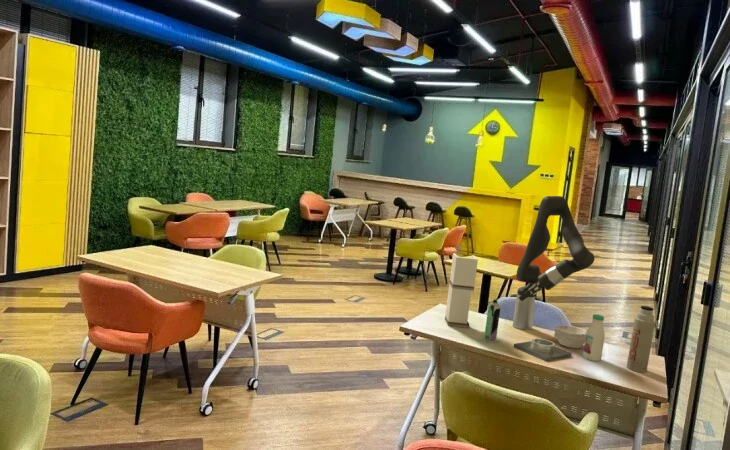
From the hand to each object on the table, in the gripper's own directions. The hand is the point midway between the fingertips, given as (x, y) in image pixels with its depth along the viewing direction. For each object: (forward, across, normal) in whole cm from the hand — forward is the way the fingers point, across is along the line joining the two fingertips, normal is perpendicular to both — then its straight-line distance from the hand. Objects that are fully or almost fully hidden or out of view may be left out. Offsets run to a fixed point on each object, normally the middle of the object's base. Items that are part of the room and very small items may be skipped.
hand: (521, 297), depth 251 cm
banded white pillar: (+40, -16, -7) cm, 43 cm away
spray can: (+25, 0, +8) cm, 26 cm away
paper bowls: (+1, -24, +32) cm, 40 cm away
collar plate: (+8, -3, +25) cm, 26 cm away
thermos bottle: (-19, -11, +52) cm, 57 cm away
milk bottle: (-6, -11, +40) cm, 41 cm away
